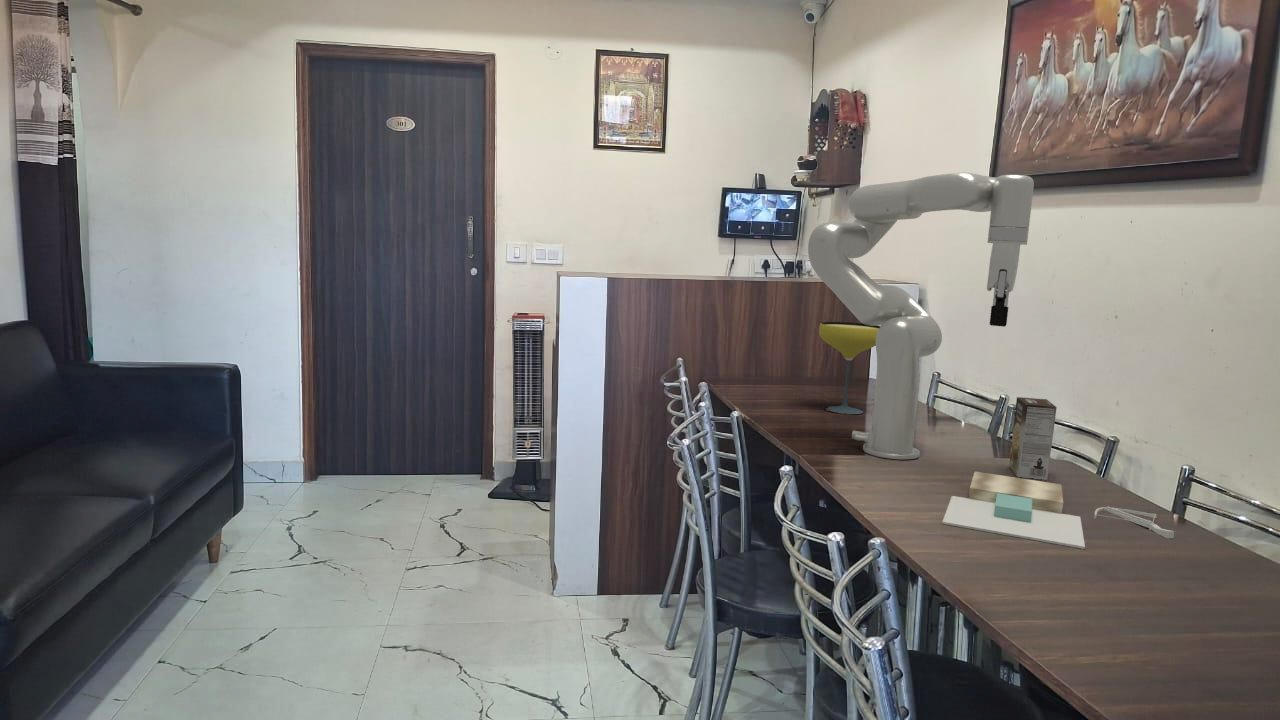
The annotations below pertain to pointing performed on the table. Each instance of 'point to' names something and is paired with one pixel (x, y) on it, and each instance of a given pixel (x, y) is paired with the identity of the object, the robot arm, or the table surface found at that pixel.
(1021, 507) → the teal tile
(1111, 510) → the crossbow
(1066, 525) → the white mat
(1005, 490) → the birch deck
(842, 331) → the cocktail glass
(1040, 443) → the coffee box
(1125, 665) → the table surface
